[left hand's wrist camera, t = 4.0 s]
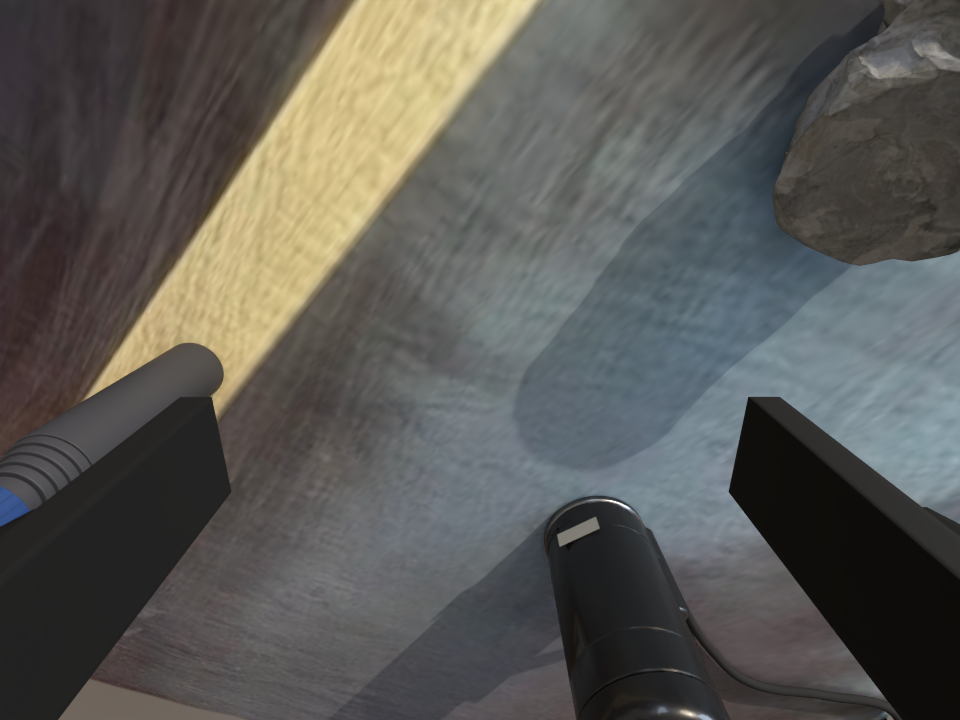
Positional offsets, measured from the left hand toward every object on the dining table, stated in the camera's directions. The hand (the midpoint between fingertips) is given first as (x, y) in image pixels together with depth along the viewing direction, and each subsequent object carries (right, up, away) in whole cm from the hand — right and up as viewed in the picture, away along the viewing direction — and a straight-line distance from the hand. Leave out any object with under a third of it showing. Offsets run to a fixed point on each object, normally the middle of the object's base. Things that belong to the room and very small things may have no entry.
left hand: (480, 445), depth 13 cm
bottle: (-24, +1, +30) cm, 38 cm away
